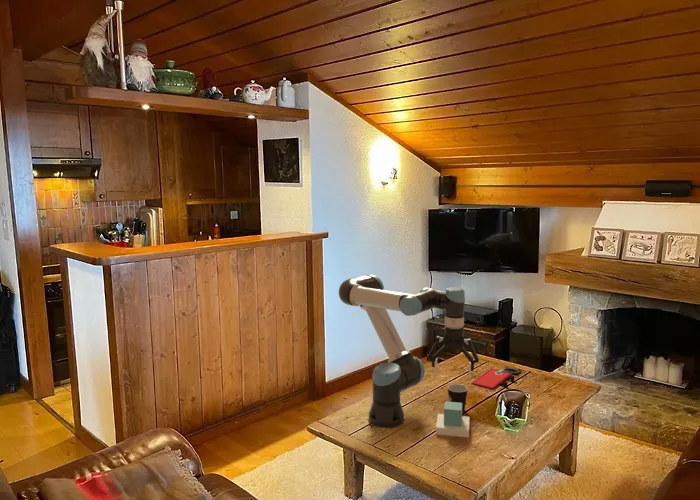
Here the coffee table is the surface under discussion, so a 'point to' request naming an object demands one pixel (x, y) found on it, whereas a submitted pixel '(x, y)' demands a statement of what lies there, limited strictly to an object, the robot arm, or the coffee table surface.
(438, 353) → the robot arm
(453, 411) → the teal cube
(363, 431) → the coffee table surface
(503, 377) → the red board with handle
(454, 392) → the coffee mug
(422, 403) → the coffee table surface
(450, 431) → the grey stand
